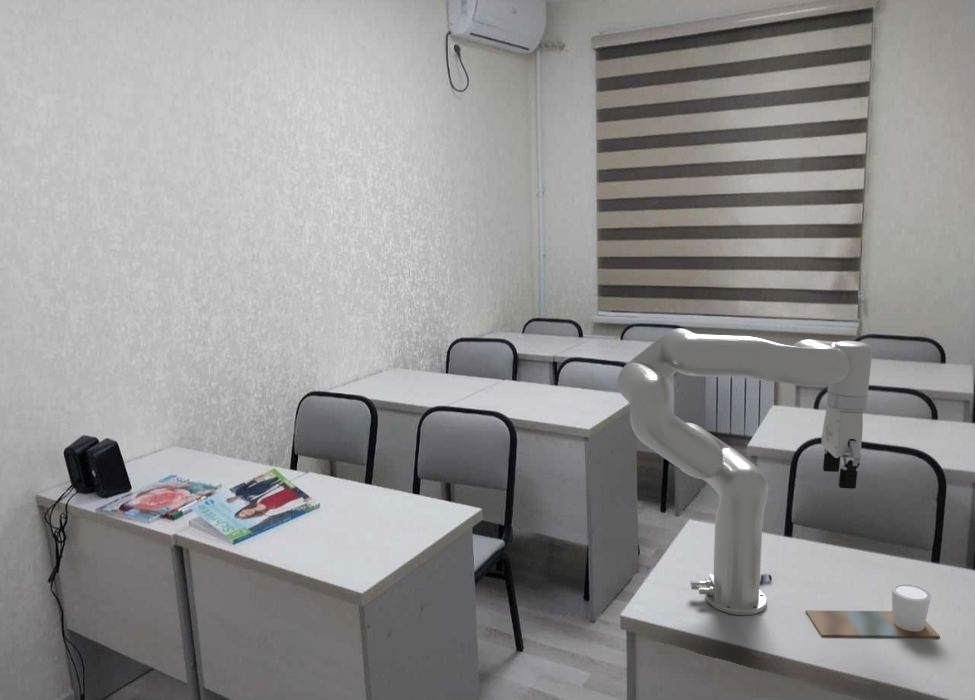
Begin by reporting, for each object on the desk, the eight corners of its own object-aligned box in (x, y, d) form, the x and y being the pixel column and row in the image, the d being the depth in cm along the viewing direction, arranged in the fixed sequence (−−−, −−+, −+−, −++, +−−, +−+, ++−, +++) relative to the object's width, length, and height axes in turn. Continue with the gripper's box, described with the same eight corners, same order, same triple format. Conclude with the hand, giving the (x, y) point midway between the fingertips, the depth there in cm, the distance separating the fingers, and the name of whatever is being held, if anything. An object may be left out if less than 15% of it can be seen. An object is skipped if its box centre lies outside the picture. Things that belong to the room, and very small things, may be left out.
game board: (821, 636, 148) (821, 634, 148) (805, 612, 157) (805, 610, 157) (939, 637, 147) (939, 636, 147) (916, 613, 156) (917, 611, 155)
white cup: (882, 614, 155) (885, 583, 153) (916, 614, 154) (919, 583, 153) (899, 633, 148) (902, 601, 146) (935, 633, 148) (938, 600, 146)
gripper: (814, 390, 164) (807, 464, 167) (842, 411, 147) (834, 494, 151) (850, 391, 163) (842, 466, 167) (882, 413, 146) (873, 495, 150)
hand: (838, 479), depth 159 cm, fingers open, 9 cm apart
